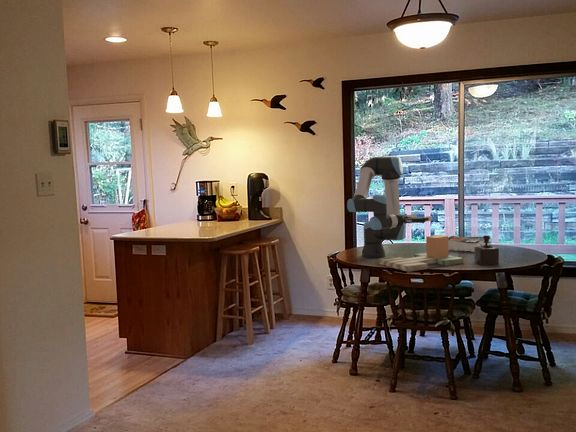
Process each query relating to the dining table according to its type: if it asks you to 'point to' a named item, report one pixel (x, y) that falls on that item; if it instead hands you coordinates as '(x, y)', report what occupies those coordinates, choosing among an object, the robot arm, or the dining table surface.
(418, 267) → the board
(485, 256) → the brown manual coffee grinder
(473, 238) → the food packaging
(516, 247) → the dining table surface
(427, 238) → the terracotta block
